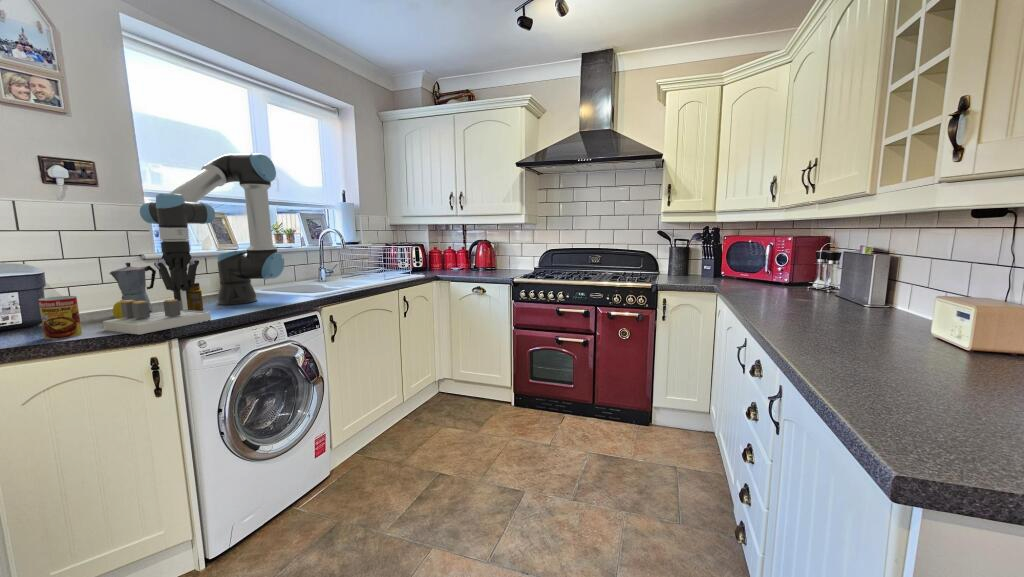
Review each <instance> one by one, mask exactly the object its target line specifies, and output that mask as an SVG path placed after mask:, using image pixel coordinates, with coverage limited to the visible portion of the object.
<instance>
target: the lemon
mask: <svg viewBox="0 0 1024 577" xmlns="http://www.w3.org/2000/svg"><path fill="white" fill-rule="evenodd" d="M122 301H124V300H122V299H120V300H118V301H117V302H116V303H115V304H113V306H112V314H113V316H114V319H120V318H125V317H123V315H122V308H121V302H122Z"/></svg>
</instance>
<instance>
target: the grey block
mask: <svg viewBox="0 0 1024 577" xmlns="http://www.w3.org/2000/svg"><path fill="white" fill-rule="evenodd" d="M163 308H164V311H165V316H168V317H173V316H179V315H181V312H180V304H179V301H178V300H177V299H174V298H170V299H165V300H164V301H163Z"/></svg>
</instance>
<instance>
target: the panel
mask: <svg viewBox="0 0 1024 577" xmlns="http://www.w3.org/2000/svg"><path fill="white" fill-rule="evenodd" d="M204 311H205V310H203V311H193V310H180V312H181V315H179V316H173V317H168V316H165V310H164V311H158V312H152V313H151V312H150V317H149V318H143V319H134V317H130V318H120V319H117V318H114V319H108V320H103V328H104V329H103V330H104V331H108V332H117V333H125V334H131V335H137V336H139V335H143V334H148V333H155V332H158V331H159V332H160V331H163V330H168V329H169V330H170V329H173V328H180V327H185V326H189V325H194V324H198V323H199V322H200V323H204V322H203V321H205V322H209V321H208V320H210V321H212V314H211V311H205V312H204ZM200 323H199V324H200Z"/></svg>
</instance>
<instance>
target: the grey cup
mask: <svg viewBox="0 0 1024 577" xmlns="http://www.w3.org/2000/svg"><path fill="white" fill-rule="evenodd" d="M132 309H133V316H134V319H143V318H149V317H150V314H151V311H149V305H148V302H146V301H136V302H133V303H132Z"/></svg>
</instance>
